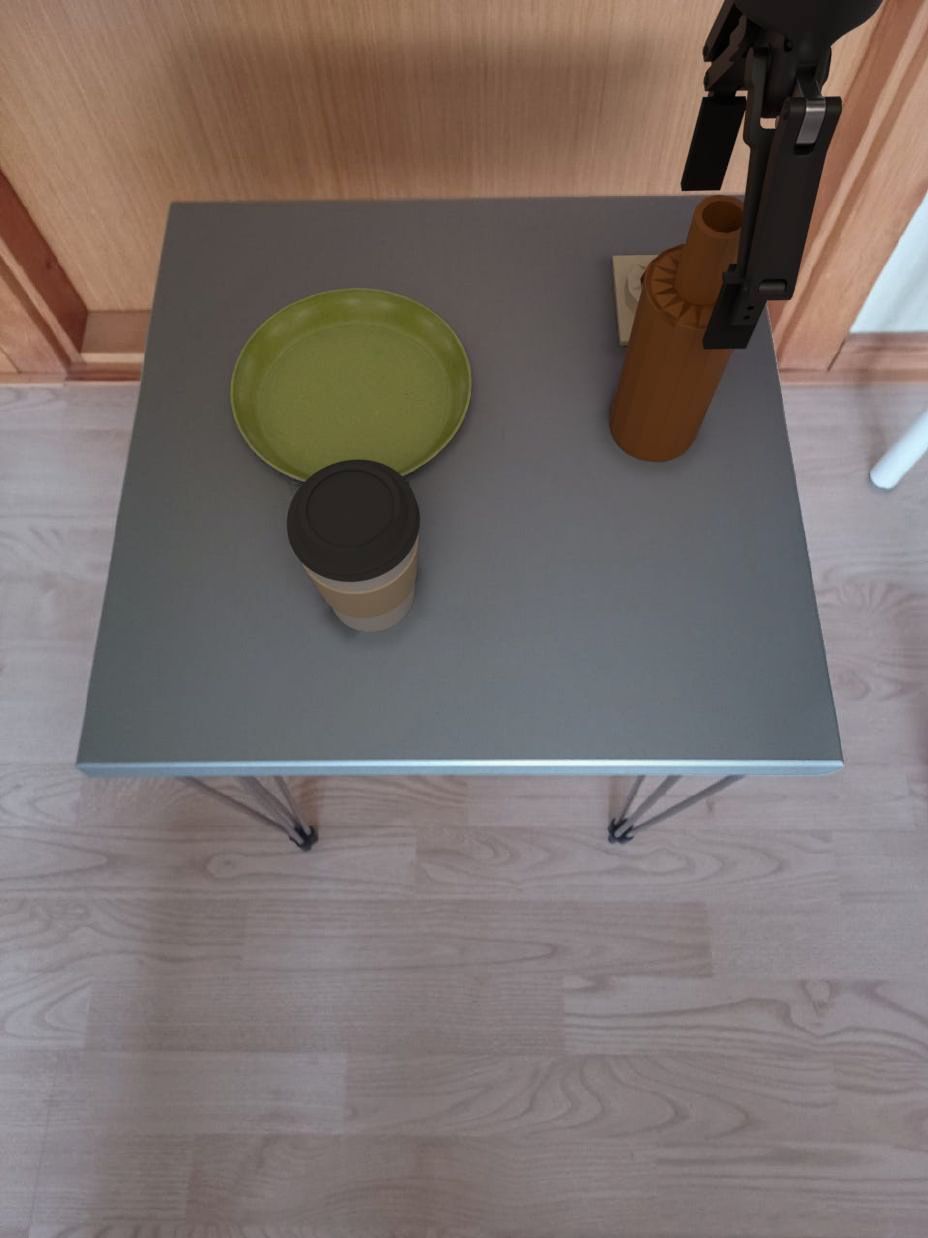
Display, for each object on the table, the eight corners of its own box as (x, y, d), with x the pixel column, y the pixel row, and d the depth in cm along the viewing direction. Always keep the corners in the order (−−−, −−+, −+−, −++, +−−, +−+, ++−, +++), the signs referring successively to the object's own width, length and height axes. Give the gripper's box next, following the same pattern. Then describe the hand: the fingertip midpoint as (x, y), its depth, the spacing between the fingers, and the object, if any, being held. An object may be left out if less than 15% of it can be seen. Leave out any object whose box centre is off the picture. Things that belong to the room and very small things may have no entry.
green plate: (464, 512, 73) (463, 493, 70) (221, 500, 74) (211, 480, 71) (477, 315, 81) (478, 290, 78) (257, 305, 81) (249, 280, 78)
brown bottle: (713, 422, 76) (808, 212, 55) (660, 477, 74) (737, 283, 53) (645, 373, 78) (710, 153, 57) (591, 427, 76) (638, 219, 55)
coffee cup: (294, 589, 71) (251, 499, 57) (379, 522, 73) (357, 419, 59) (366, 667, 68) (338, 593, 54) (451, 596, 70) (446, 506, 56)
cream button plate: (707, 344, 79) (714, 326, 77) (619, 346, 79) (623, 327, 77) (695, 259, 83) (701, 239, 81) (611, 260, 83) (615, 240, 81)
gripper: (713, -254, 43) (639, 129, 63) (789, 99, 34) (674, 419, 53) (865, -258, 43) (743, 127, 63) (983, 95, 34) (796, 417, 53)
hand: (711, 262), depth 58 cm, fingers open, 13 cm apart
